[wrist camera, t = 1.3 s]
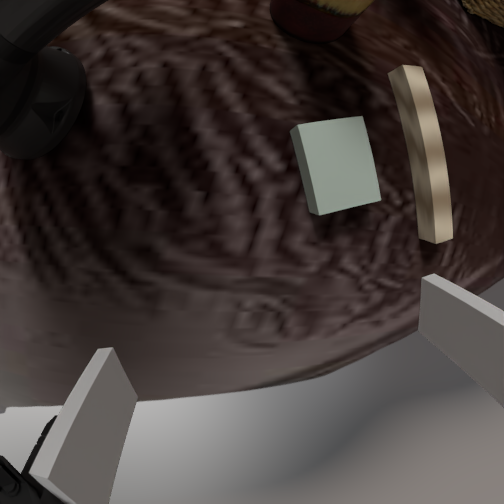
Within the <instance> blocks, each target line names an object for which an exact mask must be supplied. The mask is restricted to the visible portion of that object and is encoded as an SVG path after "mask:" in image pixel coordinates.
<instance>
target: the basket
mask: <svg viewBox="0 0 504 504" xmlns="http://www.w3.org/2000/svg"><path fill="white" fill-rule="evenodd" d="M462 3H463V6H465V8H466V9H467V8H468V10H467V12H469V13H471V14H477V15H478V16H481V17H482V18H485V19H487V20H489V21H490V22H491V23H493V24H496V25H498V26H502V27H503V28H504V0H462Z"/></svg>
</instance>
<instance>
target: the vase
mask: <svg viewBox="0 0 504 504" xmlns="http://www.w3.org/2000/svg"><path fill="white" fill-rule="evenodd" d="M374 1H375V0H271V3H270V13H271V16H272V18H273V20H274V22H275V23H276V24H277V25H278V27H279V28H281V29H282V30H283V31H284V32H286V33H287V34H289V35H290V36H292V37H294V38H297V39H299V40H302V41H305V42H310V43H318V44H320V43H329V42H332V41H335V40H336V39H338V38H340V37H341V36H342V35H343V34H344V33H345V32H346V30H347V29H348V28H349V27H350V26H351V25H352V24H353V23H354V22H355V21H356V20H357V18H358V17H359V16H360V15H361V14H362V13H363V12H364V11H365V10H366V9H367V8H368V7H369V6H370V5H371V4H372V3H373V2H374Z"/></svg>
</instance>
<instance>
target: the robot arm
mask: <svg viewBox="0 0 504 504" xmlns="http://www.w3.org/2000/svg"><path fill="white" fill-rule="evenodd" d="M106 1H108V0H0V150H1V151H2V152H3V153H4V154H5V155H7V156H9V157H11V158H15V159H25V160H30V159H35V158H38V157H41V156H43V155H45V154H47V153H48V152H50V151H51V150H52V149H53V148H55V147H56V146H57V145H58V144H59V143H60V142H61V141H62V140H63V138H64V137H65V136H66V135H67V133H68V132H69V130H70V129H71V127H72V126H73V124H74V122H75V120H76V118H77V116H78V114H79V112H80V109H81V107H82V104H83V100H84V96H85V90H86V74H85V70H84V67H83V65H82V63H81V62H80V60H79V59H78V58H77V57H76V56H74V55H73V54H72V53H71V52H69V51H68V50H66V49H64V48H60V47H48V46H46V45H47V44H48V43H50V42H51V41H52V40H53V39H54V38H56V37H57V36H58V35H59V34H60V33H62V32H63V31H64V30H66V29H67V28H68V27H69V26H71V25H72V24H74V23H75V22H76V21H78V20H79V19H80V18H82V17H83V16H85V15H86V14H88V13H89V12H91V11H92V10H94V9H95V8H97V7H98V6H100V5H101V4H103V3H104V2H106ZM418 332H419V333H421V334H422V335H423V336H424V337H425V338H427V339H428V340H429V341H430V342H431V343H433V344H434V345H435V346H436V347H437V348H438V349H439V350H441V351H442V352H443V353H444V354H445V355H446V356H448V357H449V358H450V359H451V360H452V361H453V362H454V363H456V364H457V365H458V366H459V367H460V368H461V369H462V370H463V371H465V372H466V373H467V374H468V375H469V376H470V377H471V378H472V379H474V380H475V381H476V382H477V383H478V384H479V385H480V386H481V387H482V388H483V389H484V390H485V391H487V392H488V393H489V394H490V395H491V396H492V397H493V398H494V399H495V400H496V401H497V402H498V403H500V405H502V407H504V310H501V309H499V308H497V307H496V306H494V305H492V304H490V303H488V302H487V301H484V300H483V299H481V298H479V297H478V296H476V295H474V294H472V293H470V292H468V291H467V290H465V289H463V288H461V287H459V286H457V285H455V284H453V283H451V282H450V281H448V280H446V279H444V278H442V277H440V276H438V275H436V274H431V275H428V276H426V277H423V278H422V284H421V303H420V316H419V327H418ZM137 399H138V396H137V394H136V393H135V391H134V389H133V387H132V385H131V383H130V381H129V379H128V377H127V375H126V373H125V371H124V369H123V367H122V365H121V363H120V361H119V359H118V357H117V355H116V353H115V350H114V348H113V347H110V348H101V349H97V351H96V353H95V354H94V356H93V357H92V359H91V360H90V362H89V364H88V365H87V367H86V368H85V370H84V372H83V373H82V375H81V377H80V378H79V380H78V382H77V383H76V385H75V387H74V388H73V390H72V392H71V393H70V395H69V397H68V399H67V400H66V402H65V404H64V405H63V407H62V409H61V411H60V413H59V414H58V416H54V417H53V419H51V420H50V422H48V423H47V424H46V426H45V428H44V430H43V432H42V433H41V436H40V438H39V439H38V441H37V445H35V446H34V449H33V450H32V452H31V455H30V456H29V458H28V460H27V462H26V464H25V466H24V469H23V470H22V472H21V474H20V473H19V472H18V471H17V470H16V469H15V468H14V467H13V466H12V465H11V464H10V463H9V462H8V461H7V460H6V459H5V458H4V457H3V456H0V504H109V500H110V496H111V491H112V487H113V483H114V479H115V475H116V471H117V467H118V464H119V460H120V456H121V452H122V449H123V445H124V442H125V439H126V435H127V432H128V428H129V424H130V421H131V418H132V415H133V412H134V408H135V405H136V402H137Z"/></svg>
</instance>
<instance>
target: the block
mask: <svg viewBox="0 0 504 504" xmlns="http://www.w3.org/2000/svg"><path fill="white" fill-rule="evenodd" d="M290 134H291V137H292V141H293V145H294V149H295V153H296V157H297V161H298V165H299V169H300V173H301V177H302V181H303V186H304V190H305V194H306V199H307V203H308V208H309V212H310V213H313V214H316V215H323V214H327V213H331V212H335V211H339V210H343V209H347V208H351V207H355V206H360V205H364V204H368V203H372V202H376V201H380V200H381V197H380V191H379V185H378V180H377V175H376V170H375V165H374V161H373V156H372V152H371V147H370V143H369V139H368V135H367V131H366V127H365V124H364V120H363V116H359V117H350V118H341V119H333V120H326V121H319V122H313V123H306V124H300V125H297V126H296V127H294V128H293V129H292V130H291V131H290Z"/></svg>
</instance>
